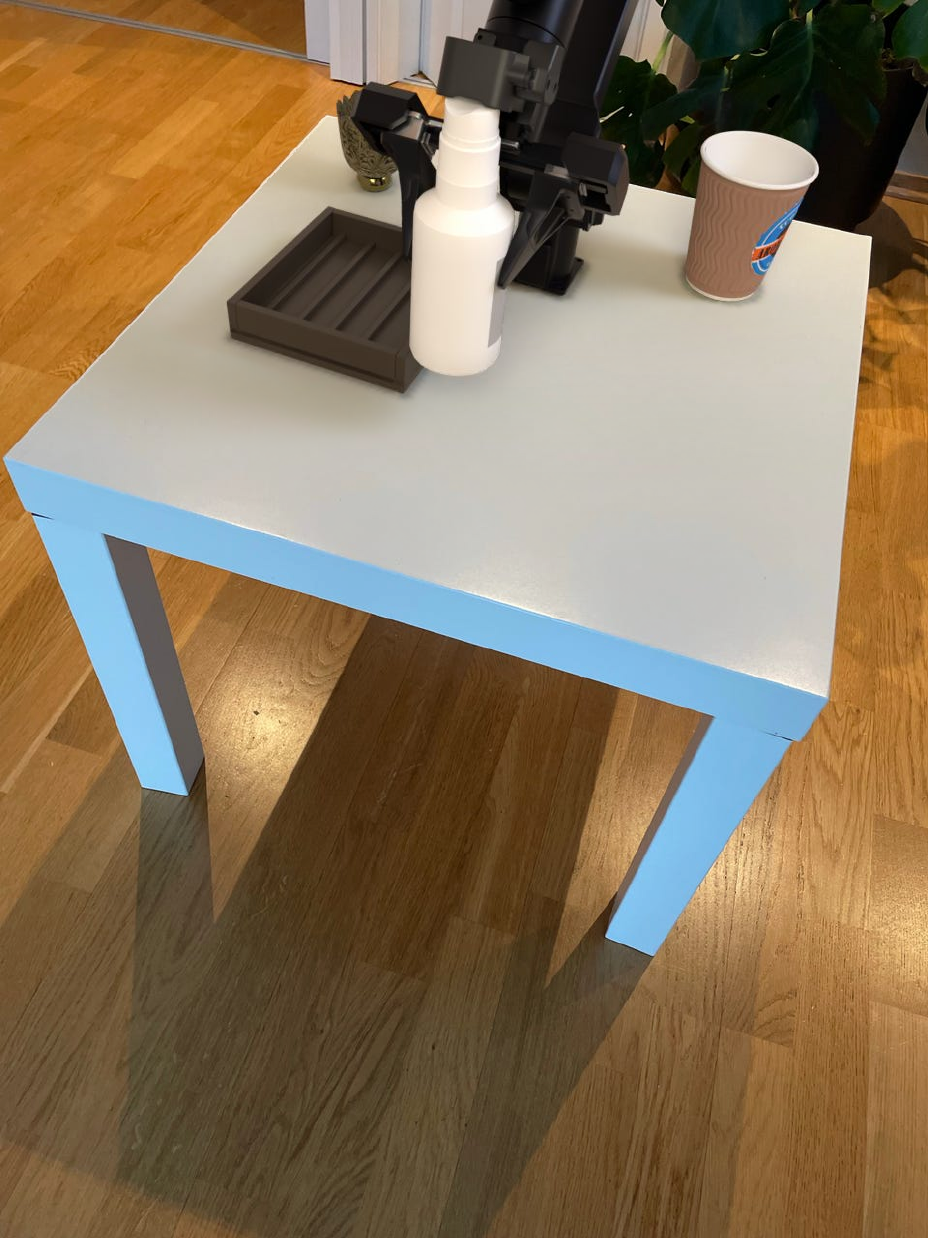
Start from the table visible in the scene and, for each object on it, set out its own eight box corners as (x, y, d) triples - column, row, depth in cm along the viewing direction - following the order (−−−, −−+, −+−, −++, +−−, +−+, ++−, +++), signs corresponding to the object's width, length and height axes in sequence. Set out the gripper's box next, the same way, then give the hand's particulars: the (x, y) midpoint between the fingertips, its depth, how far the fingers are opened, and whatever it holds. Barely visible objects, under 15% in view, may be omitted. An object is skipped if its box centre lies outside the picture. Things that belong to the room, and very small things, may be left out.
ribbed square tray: (329, 240, 91) (328, 205, 88) (484, 286, 88) (487, 251, 85) (231, 338, 80) (226, 301, 77) (403, 393, 77) (404, 357, 74)
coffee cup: (753, 325, 87) (799, 198, 78) (651, 287, 90) (683, 161, 80) (787, 275, 93) (833, 152, 84) (690, 242, 96) (724, 119, 86)
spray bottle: (517, 356, 71) (551, 107, 57) (450, 390, 68) (469, 136, 54) (457, 313, 74) (476, 67, 60) (390, 344, 71) (393, 92, 57)
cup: (330, 196, 96) (327, 114, 90) (347, 163, 101) (346, 83, 94) (402, 207, 96) (404, 126, 89) (416, 174, 100) (419, 94, 94)
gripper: (359, -63, 57) (285, 196, 59) (658, 3, 53) (569, 276, 56) (409, 36, 68) (345, 252, 70) (660, 97, 64) (585, 322, 66)
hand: (452, 274), depth 65 cm, fingers closed on spray bottle, 7 cm apart
